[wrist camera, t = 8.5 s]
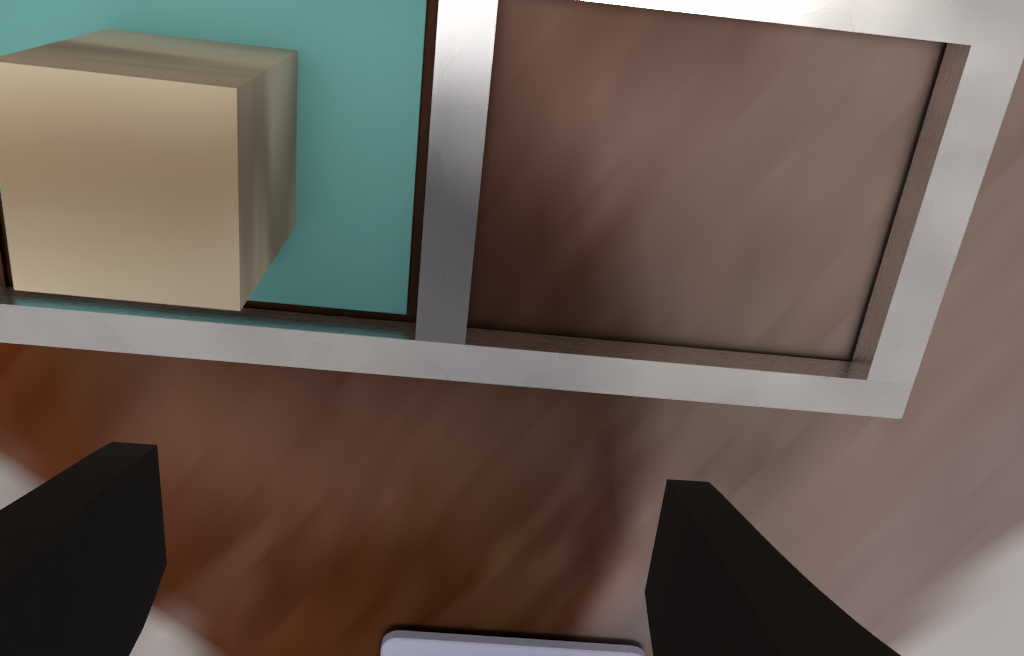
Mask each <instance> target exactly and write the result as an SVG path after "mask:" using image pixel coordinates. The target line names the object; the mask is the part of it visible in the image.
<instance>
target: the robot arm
mask: <svg viewBox="0 0 1024 656" xmlns="http://www.w3.org/2000/svg"><path fill="white" fill-rule="evenodd" d="M166 564H167V559H166V547H165V535H164V523H163V511H162V499H161V487H160V474H159V462H158V450H157V445H150V444H135V443H120V442H112V443H110V444H108V445H106V446H104V447H102V448H100V449H99V450H97V451H95V452H94V453H92V454H90V455H89V456H87V457H85V458H84V459H82V460H80V461H79V462H77V463H76V464H74V465H72V466H71V467H69V468H68V469H66V470H64V471H63V472H61V473H60V474H58V475H56V476H55V477H53V478H52V479H50V480H48V481H47V482H45V483H44V484H42V485H40V486H39V487H37V488H36V489H34V490H32V491H31V492H29V493H27V494H26V495H24V496H23V497H21V498H19V499H18V500H16V501H14V502H13V503H11V504H10V505H8V506H6V507H5V508H3V509H1V510H0V656H129V655H130V653H131V651H132V649H133V647H134V645H135V643H136V641H137V639H138V637H139V635H140V633H141V631H142V629H143V627H144V624H145V622H146V619H147V617H148V614H149V611H150V609H151V606H152V604H153V601H154V598H155V596H156V593H157V590H158V587H159V584H160V581H161V579H162V576H163V573H164V570H165V567H166ZM645 597H646V606H647V614H648V622H649V629H650V636H651V643H652V650H653V656H901V655H899V654H898V653H897V652H895V651H894V650H892V649H891V648H890V647H888V646H887V645H886V644H884V643H883V642H882V641H880V640H879V639H878V638H876V637H875V636H874V635H872V634H871V633H870V632H869V631H867V630H866V629H865V628H864V627H862V626H861V625H860V624H859V623H857V622H856V621H855V620H854V619H852V618H851V617H850V616H849V615H848V614H847V613H846V612H844V611H843V610H842V609H841V608H840V607H839V606H837V605H836V604H835V603H834V602H833V601H832V600H830V599H829V598H828V597H827V596H826V595H825V594H823V593H822V592H821V591H820V590H819V589H818V588H817V587H816V586H814V585H813V584H812V583H811V582H810V581H809V580H808V579H807V578H806V577H805V576H804V575H802V574H801V573H800V572H799V571H798V570H797V569H796V568H795V567H794V566H793V565H792V564H791V563H790V562H789V561H788V560H787V559H786V558H785V557H784V556H782V555H781V554H780V553H779V552H778V551H777V550H776V549H775V548H774V547H773V546H772V545H771V544H770V543H769V542H768V541H767V540H766V539H765V538H764V537H763V536H762V535H761V534H760V533H759V532H758V531H757V530H756V529H755V528H754V527H753V526H752V525H751V524H750V523H749V522H748V521H747V520H746V519H745V518H744V516H743V515H742V514H741V513H740V512H739V511H738V510H737V509H736V508H735V507H734V506H733V505H732V504H731V503H730V502H729V501H728V500H727V499H726V498H725V497H724V496H723V495H722V494H721V493H720V492H719V491H718V490H717V489H716V488H715V487H714V486H713V485H711V484H710V483H709V482H700V481H685V480H670V479H667V482H666V487H665V492H664V497H663V502H662V508H661V513H660V518H659V523H658V528H657V533H656V538H655V543H654V548H653V553H652V558H651V563H650V568H649V573H648V578H647V583H646V588H645ZM380 656H646V655H645V653H644V651H643V650H642V649H640V648H639V647H636V646H631V645H616V644H600V643H585V642H570V641H555V640H539V639H524V638H509V637H494V636H478V635H463V634H448V633H433V632H418V631H402V630H398V631H392V632H389V633H387V634H386V635H385V636H384V637H383V641H382V645H381V655H380Z"/></svg>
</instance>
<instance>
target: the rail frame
mask: <svg viewBox="0 0 1024 656" xmlns="http://www.w3.org/2000/svg"><path fill="white" fill-rule="evenodd" d="M582 1H591V2H599V3H608V4H617V5H625V6H634V7H643V8H651V9H660V10H669V11H677V12H686V13H695V14H703V15H712V16H721V17H729V18H738V19H747V20H755V21H764V22H773V23H781V24H790V25H799V26H807V27H816V28H825V29H833V30H842V31H851V32H859V33H868V34H877V35H885V36H894V37H903V38H911V39H920V40H929V41H937V42H946V43H947V47H946V50H945V53H944V57H943V60H942V63H941V67H940V70H939V73H938V77H937V80H936V83H935V87H934V90H933V93H932V97H931V100H930V103H929V106H928V110H927V113H926V116H925V120H924V123H923V126H922V130H921V133H920V136H919V140H918V143H917V146H916V150H915V153H914V156H913V160H912V163H911V166H910V170H909V173H908V176H907V179H906V183H905V186H904V189H903V193H902V196H901V199H900V203H899V206H898V209H897V213H896V216H895V219H894V223H893V226H892V229H891V233H890V236H889V239H888V243H887V246H886V249H885V252H884V256H883V259H882V262H881V266H880V269H879V272H878V276H877V279H876V282H875V286H874V289H873V292H872V296H871V299H870V302H869V306H868V309H867V312H866V315H865V319H864V322H863V325H862V329H861V332H860V335H859V339H858V342H857V345H856V349H855V352H854V355H853V359H852V362H846V361H835V360H823V359H812V358H801V357H790V356H779V355H767V354H756V353H745V352H734V351H723V350H711V349H700V348H689V347H678V346H667V345H655V344H644V343H633V342H622V341H610V340H599V339H588V338H577V337H566V336H554V335H543V334H532V333H521V332H510V331H498V330H487V329H476V328H467V319H468V309H469V298H470V288H471V278H472V267H473V257H474V246H475V236H476V226H477V215H478V205H479V194H480V184H481V174H482V163H483V153H484V143H485V132H486V122H487V111H488V101H489V91H490V80H491V70H492V59H493V49H494V39H495V28H496V18H497V8H498V0H439V6H438V20H437V34H436V49H435V63H434V77H433V92H432V106H431V120H430V134H429V149H428V163H427V177H426V192H425V206H424V220H423V234H422V249H421V263H420V277H419V292H418V306H417V320H416V323H409V322H398V321H386V320H375V319H364V318H353V317H341V316H330V315H319V314H308V313H297V312H285V311H274V310H263V309H252V308H242V309H241V311H233V310H222V309H212V308H201V307H190V306H180V305H169V304H158V303H148V302H137V301H126V300H116V299H105V298H94V297H84V296H73V295H62V294H51V293H41V292H30V291H19V290H14V287H5V280H4V273H3V266H2V259H1V252H0V342H4V343H16V344H28V345H39V346H51V347H63V348H75V349H86V350H98V351H110V352H122V353H133V354H145V355H157V356H169V357H180V358H192V359H204V360H216V361H227V362H239V363H251V364H263V365H274V366H286V367H298V368H310V369H321V370H333V371H345V372H357V373H368V374H380V375H392V376H404V377H416V378H427V379H439V380H451V381H463V382H474V383H486V384H498V385H510V386H521V387H533V388H545V389H557V390H568V391H580V392H592V393H604V394H615V395H627V396H639V397H651V398H662V399H674V400H686V401H698V402H709V403H721V404H733V405H745V406H756V407H768V408H780V409H792V410H804V411H815V412H827V413H839V414H851V415H862V416H874V417H886V418H898V419H902V416H903V413H904V410H905V407H906V404H907V401H908V398H909V395H910V392H911V389H912V387H913V384H914V381H915V378H916V375H917V372H918V369H919V366H920V363H921V360H922V357H923V354H924V351H925V348H926V345H927V342H928V339H929V336H930V333H931V330H932V327H933V324H934V321H935V318H936V316H937V313H938V310H939V307H940V304H941V301H942V298H943V295H944V292H945V289H946V286H947V283H948V280H949V277H950V274H951V271H952V268H953V265H954V262H955V259H956V256H957V253H958V250H959V247H960V245H961V242H962V239H963V236H964V233H965V230H966V227H967V224H968V221H969V218H970V215H971V212H972V209H973V206H974V203H975V200H976V197H977V194H978V191H979V188H980V185H981V182H982V179H983V177H984V174H985V171H986V168H987V165H988V162H989V159H990V156H991V153H992V150H993V147H994V144H995V141H996V138H997V135H998V132H999V129H1000V126H1001V123H1002V120H1003V117H1004V114H1005V111H1006V108H1007V106H1008V103H1009V100H1010V97H1011V94H1012V91H1013V88H1014V85H1015V82H1016V79H1017V76H1018V73H1019V70H1020V67H1021V64H1022V61H1023V58H1024V0H582ZM426 8H427V0H0V56H3V55H7V54H11V53H15V52H19V51H23V50H26V49H30V48H34V47H38V46H42V45H46V44H50V43H54V42H58V41H62V40H66V39H70V38H74V37H78V36H81V35H85V34H89V33H93V32H97V31H101V30H105V29H115V30H123V31H132V32H141V33H150V34H158V35H167V36H176V37H185V38H193V39H202V40H211V41H220V42H228V43H237V44H246V45H254V46H263V47H272V48H281V49H289V50H298V65H297V145H296V224H295V228H294V230H293V231H292V233H291V234H290V236H289V237H288V239H287V240H286V242H285V243H284V245H283V247H282V248H281V250H280V251H279V253H278V254H277V256H276V257H275V259H274V260H273V262H272V263H271V265H270V266H269V268H268V269H267V271H266V272H265V274H264V276H263V277H262V279H261V280H260V282H259V283H258V285H257V286H256V288H255V289H254V291H253V292H252V294H251V295H250V297H249V298H248V300H250V301H261V302H272V303H283V304H295V305H306V306H317V307H328V308H339V309H350V310H361V311H373V312H384V313H395V314H406V313H407V302H408V286H409V271H410V255H411V240H412V224H413V209H414V193H415V178H416V162H417V147H418V132H419V116H420V101H421V85H422V70H423V54H424V39H425V23H426ZM0 191H1V186H0ZM1 198H2V194H1ZM2 206H3V201H2ZM3 213H4V209H3ZM4 221H5V217H4ZM5 228H6V224H5ZM6 235H7V232H6ZM7 243H8V240H7ZM8 250H9V247H8ZM9 257H10V255H9ZM10 265H11V263H10ZM11 272H12V270H11ZM12 279H13V278H12Z"/></svg>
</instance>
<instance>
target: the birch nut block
mask: <svg viewBox="0 0 1024 656" xmlns="http://www.w3.org/2000/svg"><path fill="white" fill-rule="evenodd" d="M297 65H298V50H289V49H281V48H272V47H263V46H254V45H246V44H237V43H228V42H220V41H211V40H202V39H193V38H185V37H176V36H167V35H158V34H150V33H141V32H132V31H123V30H115V29H105V30H101V31H97V32H93V33H89V34H85V35H81V36H78V37H74V38H70V39H66V40H62V41H58V42H54V43H50V44H46V45H42V46H38V47H34V48H30V49H26V50H23V51H19V52H15V53H11V54H7V55H3V56H0V186H1V194H2V201H3V209H4V217H5V224H6V232H7V240H8V247H9V255H10V263H11V270H12V278H13V286H14V290H19V291H30V292H41V293H51V294H62V295H73V296H84V297H94V298H105V299H116V300H126V301H137V302H148V303H158V304H169V305H180V306H190V307H201V308H212V309H222V310H233V311H241V309H242V308H243V306H244V304H245V303H246V301H247V300H248V298H249V297H250V295H251V294H252V292H253V291H254V289H255V288H256V286H257V285H258V283H259V282H260V280H261V279H262V277H263V276H264V274H265V272H266V271H267V269H268V268H269V266H270V265H271V263H272V262H273V260H274V259H275V257H276V256H277V254H278V253H279V251H280V250H281V248H282V247H283V245H284V243H285V242H286V240H287V239H288V237H289V236H290V234H291V233H292V231H293V230H294V228H295V224H296V145H297Z"/></svg>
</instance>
